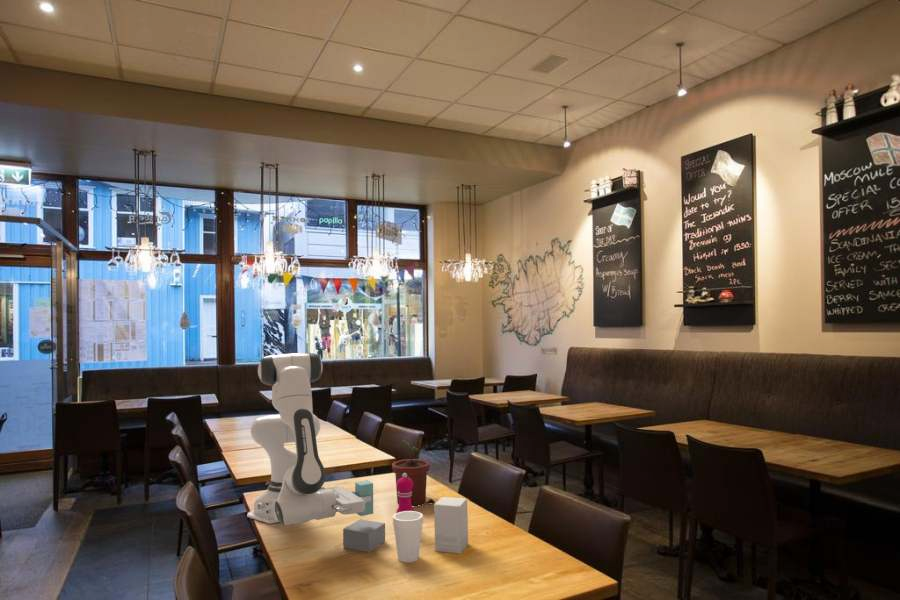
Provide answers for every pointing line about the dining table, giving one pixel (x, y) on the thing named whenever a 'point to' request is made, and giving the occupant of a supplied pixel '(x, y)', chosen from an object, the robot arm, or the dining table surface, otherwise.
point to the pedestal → (364, 535)
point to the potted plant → (413, 476)
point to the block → (363, 490)
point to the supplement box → (451, 524)
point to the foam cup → (408, 534)
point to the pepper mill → (404, 493)
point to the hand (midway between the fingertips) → (366, 495)
